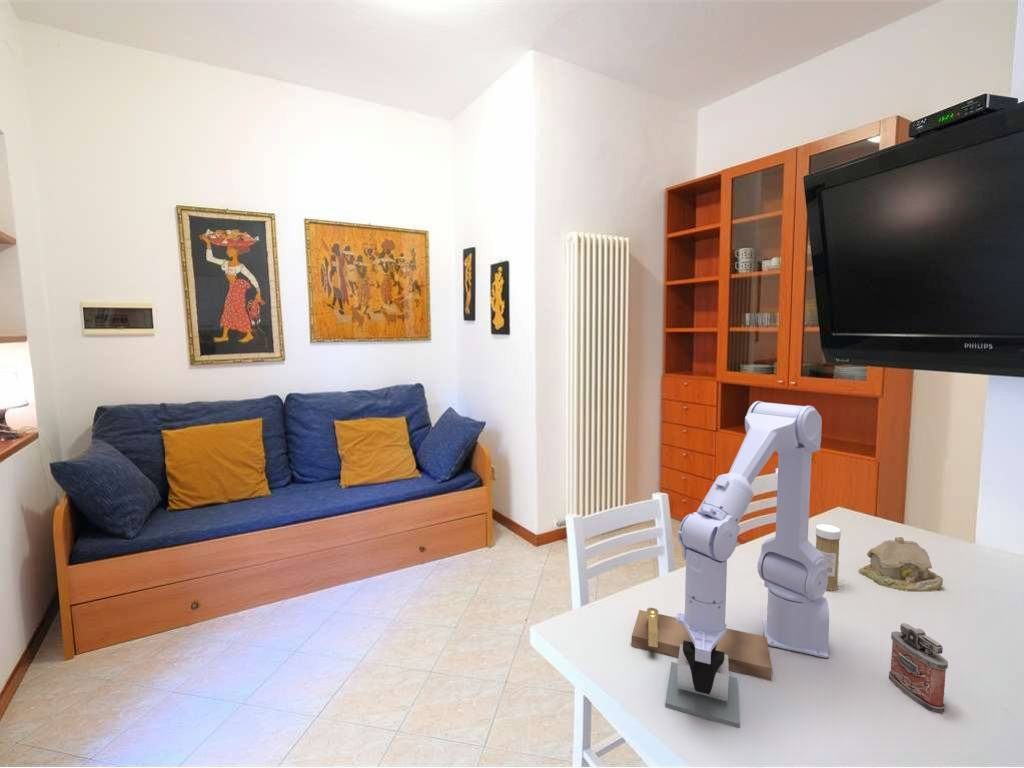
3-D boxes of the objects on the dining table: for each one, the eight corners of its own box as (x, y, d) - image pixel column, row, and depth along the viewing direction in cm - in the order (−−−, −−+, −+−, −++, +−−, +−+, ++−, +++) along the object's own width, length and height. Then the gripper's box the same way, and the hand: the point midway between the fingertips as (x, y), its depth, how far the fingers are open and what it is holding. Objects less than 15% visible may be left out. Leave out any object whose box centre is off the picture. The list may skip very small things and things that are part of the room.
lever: (646, 621, 89) (646, 607, 88) (657, 623, 88) (658, 608, 88) (646, 645, 81) (647, 630, 81) (659, 647, 81) (659, 632, 81)
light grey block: (727, 679, 74) (728, 655, 73) (727, 701, 69) (728, 675, 69) (679, 667, 77) (680, 644, 76) (677, 688, 72) (677, 663, 72)
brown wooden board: (766, 647, 84) (766, 636, 84) (771, 680, 76) (771, 668, 76) (639, 619, 93) (639, 609, 93) (631, 646, 85) (631, 635, 84)
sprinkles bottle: (841, 587, 105) (844, 528, 104) (832, 593, 102) (835, 533, 101) (819, 579, 109) (821, 522, 108) (809, 584, 106) (811, 526, 105)
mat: (737, 681, 76) (737, 678, 75) (739, 728, 66) (739, 723, 66) (671, 665, 80) (671, 661, 79) (665, 706, 70) (665, 702, 70)
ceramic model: (877, 589, 104) (880, 545, 103) (851, 566, 115) (853, 526, 114) (951, 595, 102) (954, 550, 101) (917, 571, 113) (919, 530, 112)
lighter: (882, 676, 77) (885, 616, 76) (901, 674, 77) (905, 615, 76) (930, 714, 69) (934, 648, 68) (951, 712, 69) (956, 647, 68)
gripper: (680, 568, 80) (679, 645, 81) (673, 612, 67) (671, 703, 68) (726, 576, 77) (724, 655, 78) (728, 624, 64) (725, 719, 65)
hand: (702, 678), depth 73 cm, fingers closed on light grey block, 5 cm apart
